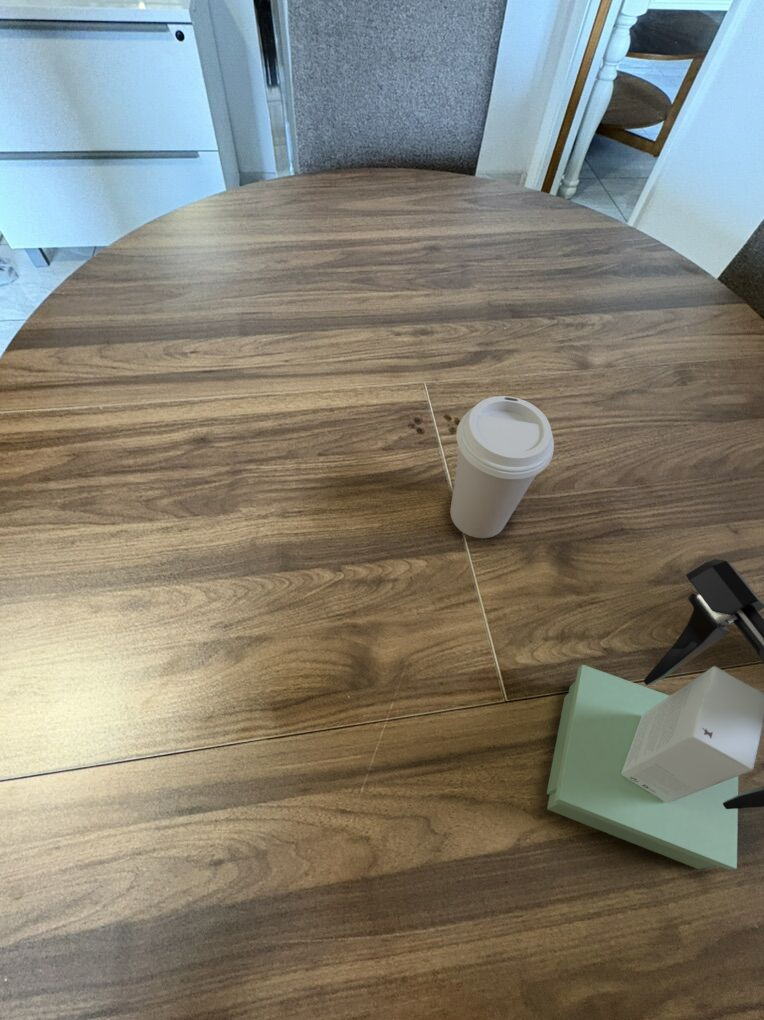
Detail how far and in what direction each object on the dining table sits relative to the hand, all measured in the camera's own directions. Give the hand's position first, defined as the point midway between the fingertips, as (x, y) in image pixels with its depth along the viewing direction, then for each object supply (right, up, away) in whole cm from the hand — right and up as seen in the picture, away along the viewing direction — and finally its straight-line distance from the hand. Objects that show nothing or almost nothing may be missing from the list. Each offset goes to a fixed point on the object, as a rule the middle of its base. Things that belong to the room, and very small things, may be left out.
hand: (683, 741), depth 45 cm
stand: (0, -7, +11) cm, 13 cm away
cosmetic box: (+1, -4, +7) cm, 8 cm away
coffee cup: (-11, +16, +26) cm, 32 cm away
